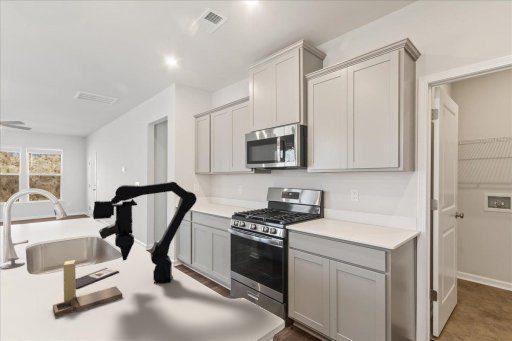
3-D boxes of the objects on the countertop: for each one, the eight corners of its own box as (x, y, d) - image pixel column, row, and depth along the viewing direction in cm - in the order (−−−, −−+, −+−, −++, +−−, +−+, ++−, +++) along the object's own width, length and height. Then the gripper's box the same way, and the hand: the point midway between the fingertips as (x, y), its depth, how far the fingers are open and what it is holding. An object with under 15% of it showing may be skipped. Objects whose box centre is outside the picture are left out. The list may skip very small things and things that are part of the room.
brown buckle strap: (116, 289, 102) (115, 285, 102) (122, 297, 96) (122, 292, 96) (52, 308, 88) (52, 303, 88) (55, 318, 83) (55, 313, 83)
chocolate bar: (63, 283, 106) (106, 267, 123) (63, 285, 106) (106, 269, 123) (77, 287, 102) (119, 271, 119) (77, 290, 102) (119, 273, 119)
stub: (75, 294, 98) (75, 260, 98) (74, 299, 94) (73, 263, 94) (65, 296, 96) (65, 261, 96) (63, 301, 93) (63, 264, 93)
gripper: (101, 215, 108) (102, 252, 109) (98, 223, 92) (99, 268, 92) (131, 212, 114) (131, 249, 114) (134, 220, 97) (134, 262, 97)
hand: (124, 256), depth 104 cm, fingers open, 9 cm apart
